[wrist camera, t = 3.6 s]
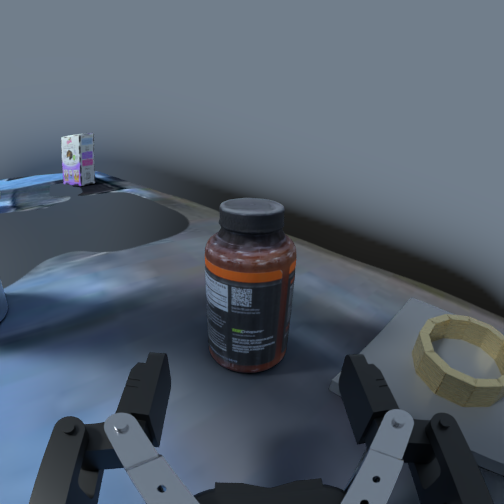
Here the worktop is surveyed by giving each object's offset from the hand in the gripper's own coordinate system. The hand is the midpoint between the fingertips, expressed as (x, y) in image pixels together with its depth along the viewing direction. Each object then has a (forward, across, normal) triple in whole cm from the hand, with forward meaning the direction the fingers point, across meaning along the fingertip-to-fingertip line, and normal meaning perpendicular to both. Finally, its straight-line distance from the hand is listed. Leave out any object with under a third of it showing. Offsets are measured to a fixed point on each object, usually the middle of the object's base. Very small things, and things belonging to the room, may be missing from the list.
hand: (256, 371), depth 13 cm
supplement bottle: (+9, 0, +6) cm, 11 cm away
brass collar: (+4, -17, +6) cm, 18 cm away
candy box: (+84, +54, +6) cm, 100 cm away
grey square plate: (+4, -17, +6) cm, 18 cm away
